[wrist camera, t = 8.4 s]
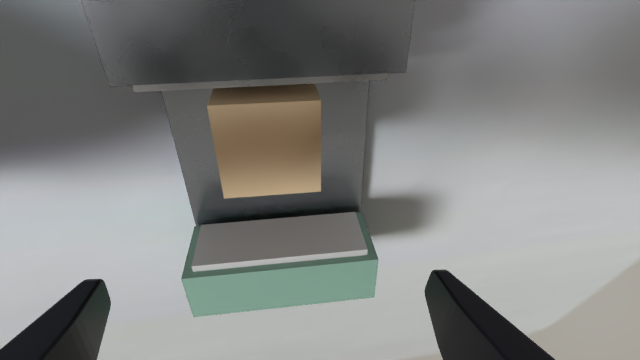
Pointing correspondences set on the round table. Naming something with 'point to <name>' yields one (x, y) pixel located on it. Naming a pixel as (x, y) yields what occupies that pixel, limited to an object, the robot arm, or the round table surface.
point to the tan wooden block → (267, 139)
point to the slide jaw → (279, 263)
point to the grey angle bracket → (256, 80)
